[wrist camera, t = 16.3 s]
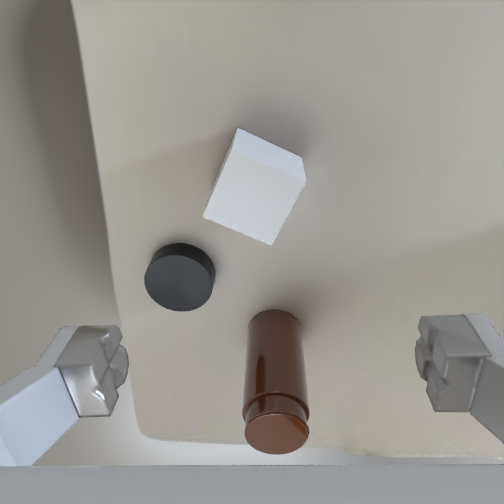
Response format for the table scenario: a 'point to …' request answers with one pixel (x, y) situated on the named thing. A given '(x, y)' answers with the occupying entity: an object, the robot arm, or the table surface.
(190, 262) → the lid
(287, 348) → the coffee jar
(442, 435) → the table surface
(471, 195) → the table surface
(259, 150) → the white cube
